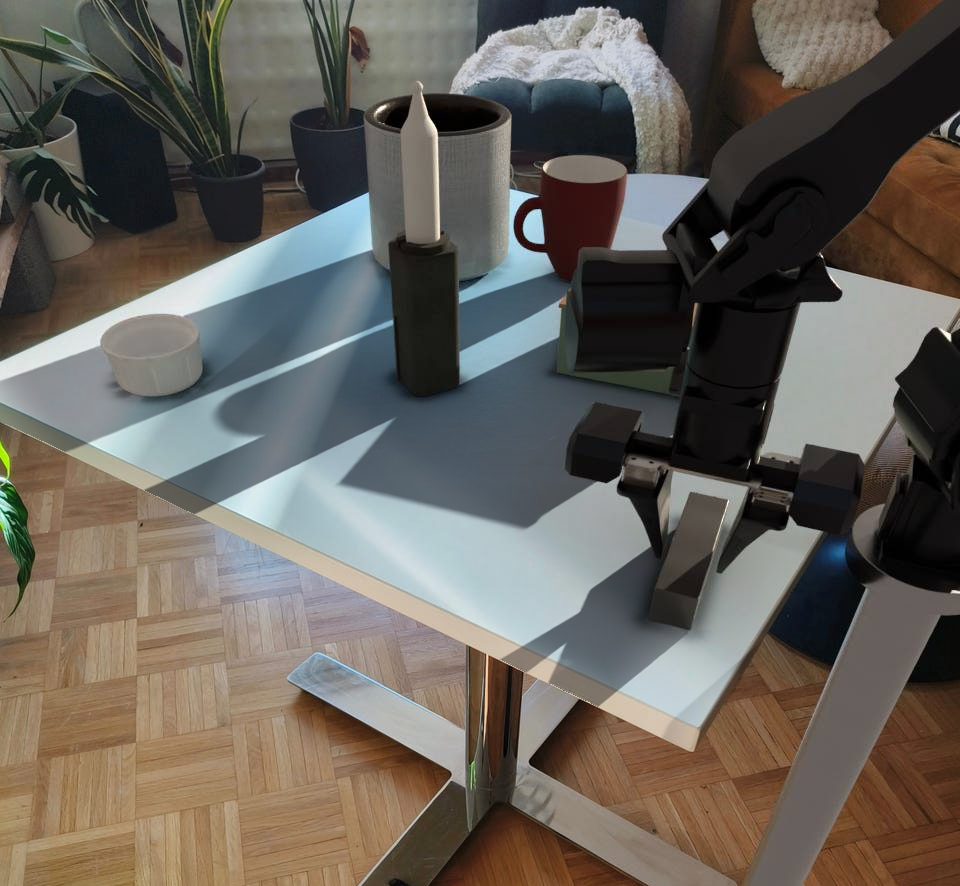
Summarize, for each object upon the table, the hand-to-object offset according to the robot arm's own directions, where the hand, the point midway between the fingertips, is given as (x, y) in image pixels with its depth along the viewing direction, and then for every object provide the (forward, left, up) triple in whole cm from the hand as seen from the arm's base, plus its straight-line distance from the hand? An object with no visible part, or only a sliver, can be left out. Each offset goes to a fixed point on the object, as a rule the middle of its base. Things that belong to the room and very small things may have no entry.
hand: (689, 562), depth 65 cm
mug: (+24, -47, -1) cm, 53 cm away
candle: (+29, -19, -1) cm, 35 cm away
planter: (+39, -46, -1) cm, 60 cm away
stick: (0, 0, -1) cm, 1 cm away
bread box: (+10, -31, -1) cm, 33 cm away
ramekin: (+53, -10, -1) cm, 54 cm away
